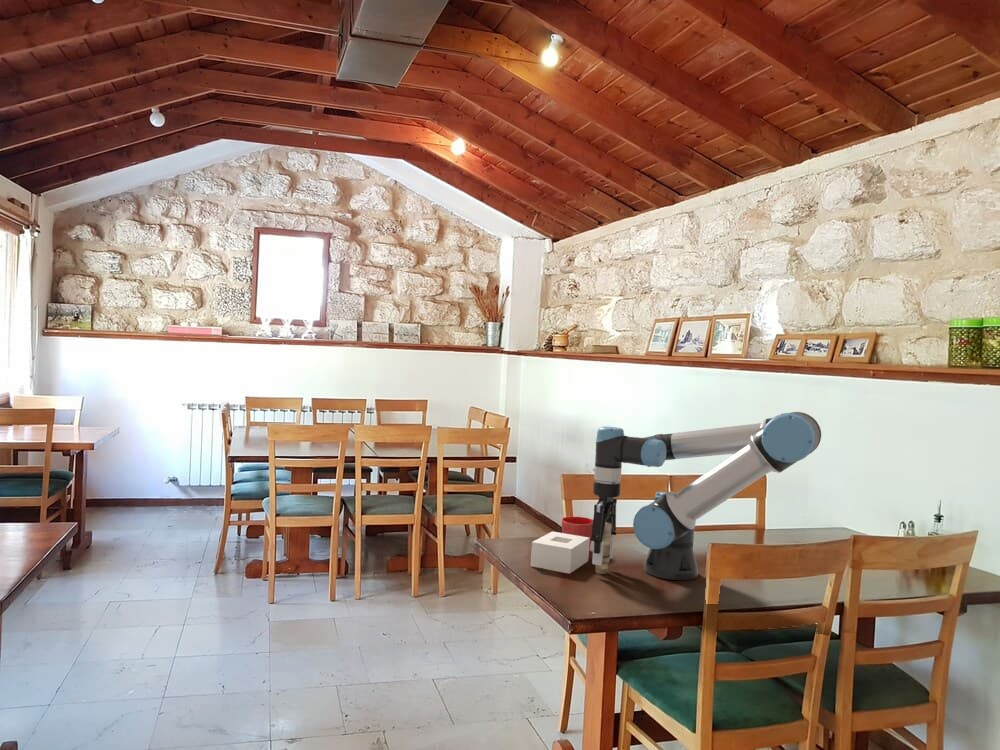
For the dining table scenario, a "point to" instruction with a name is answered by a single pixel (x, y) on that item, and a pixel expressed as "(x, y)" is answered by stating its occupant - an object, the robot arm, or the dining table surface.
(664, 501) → the robot arm
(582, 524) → the flower pot
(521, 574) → the dining table surface
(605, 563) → the beech peg
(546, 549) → the socket block
